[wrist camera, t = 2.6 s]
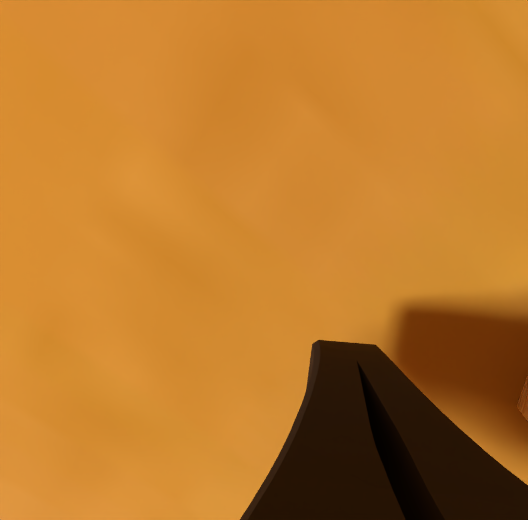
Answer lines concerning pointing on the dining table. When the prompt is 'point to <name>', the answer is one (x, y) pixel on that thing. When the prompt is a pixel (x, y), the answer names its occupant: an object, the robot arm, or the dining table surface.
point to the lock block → (524, 400)
